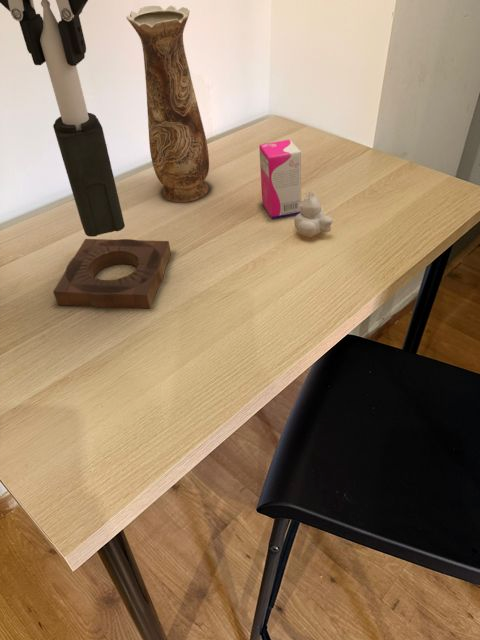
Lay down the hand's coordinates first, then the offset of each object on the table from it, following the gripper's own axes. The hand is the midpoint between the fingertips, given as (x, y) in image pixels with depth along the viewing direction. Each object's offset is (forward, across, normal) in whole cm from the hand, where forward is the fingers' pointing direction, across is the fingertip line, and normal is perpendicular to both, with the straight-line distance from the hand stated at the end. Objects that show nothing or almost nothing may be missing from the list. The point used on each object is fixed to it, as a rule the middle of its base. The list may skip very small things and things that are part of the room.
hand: (59, 59), depth 56 cm
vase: (+33, -2, -34) cm, 47 cm away
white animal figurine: (+33, -27, -20) cm, 47 cm away
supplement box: (+33, -21, -28) cm, 48 cm away
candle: (+20, 0, 0) cm, 20 cm away
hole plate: (+33, +3, -6) cm, 33 cm away
